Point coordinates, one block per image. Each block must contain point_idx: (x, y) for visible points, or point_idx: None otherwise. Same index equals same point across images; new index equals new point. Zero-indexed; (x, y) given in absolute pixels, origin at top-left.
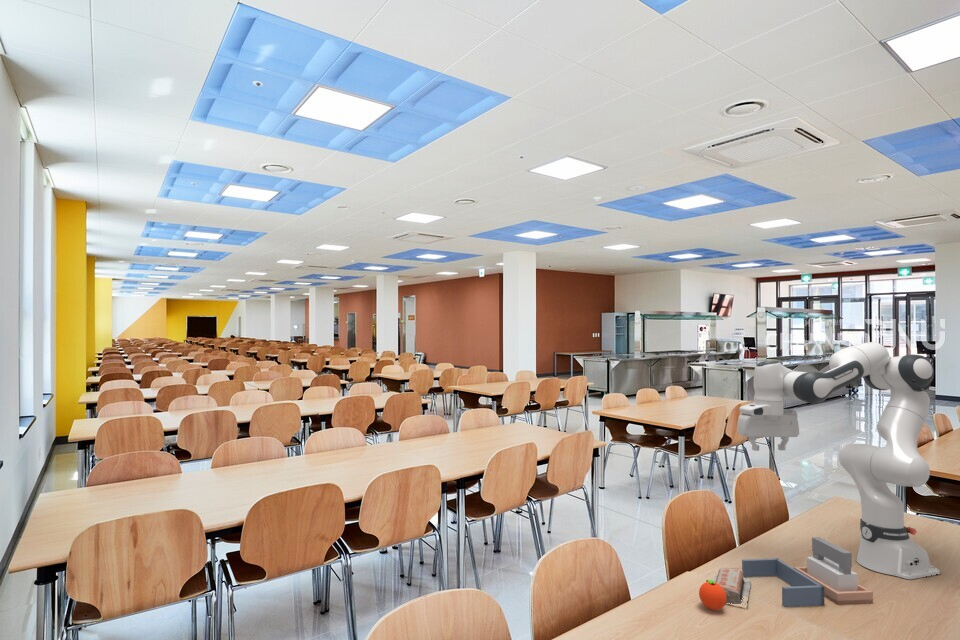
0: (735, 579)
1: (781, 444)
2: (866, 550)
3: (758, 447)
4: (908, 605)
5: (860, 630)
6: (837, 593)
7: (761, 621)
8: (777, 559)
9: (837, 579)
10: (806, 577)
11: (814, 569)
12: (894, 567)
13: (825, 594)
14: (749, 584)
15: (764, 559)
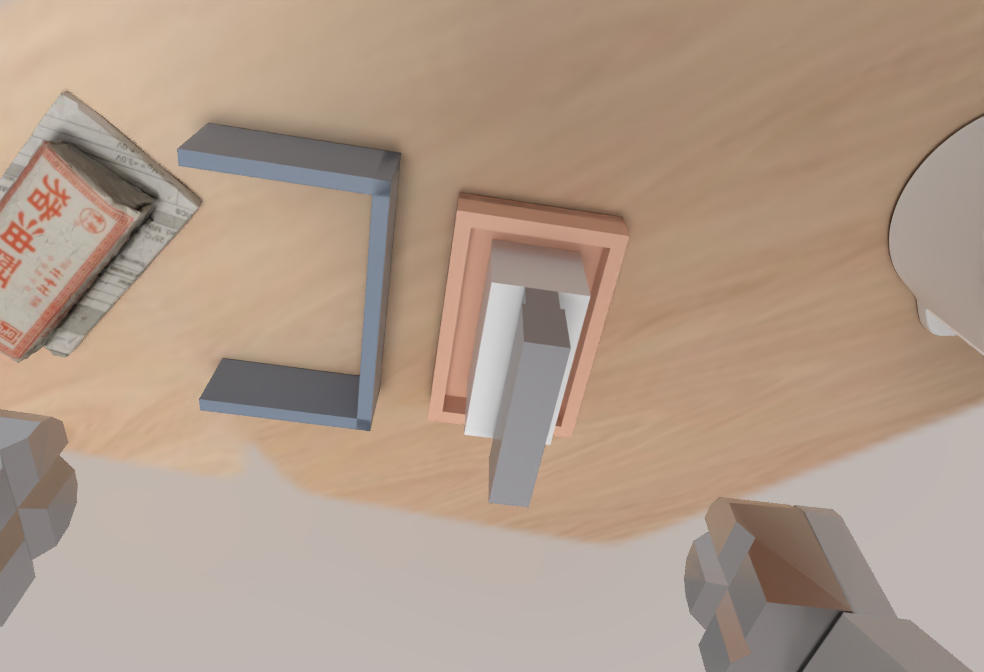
0: (49, 287)
1: (819, 654)
2: (962, 230)
3: (9, 572)
4: (669, 445)
5: (363, 499)
6: (429, 419)
7: (83, 413)
8: (379, 193)
9: (465, 417)
10: (365, 365)
11: (484, 304)
12: (935, 309)
13: (436, 355)
14: (165, 238)
15: (308, 176)
